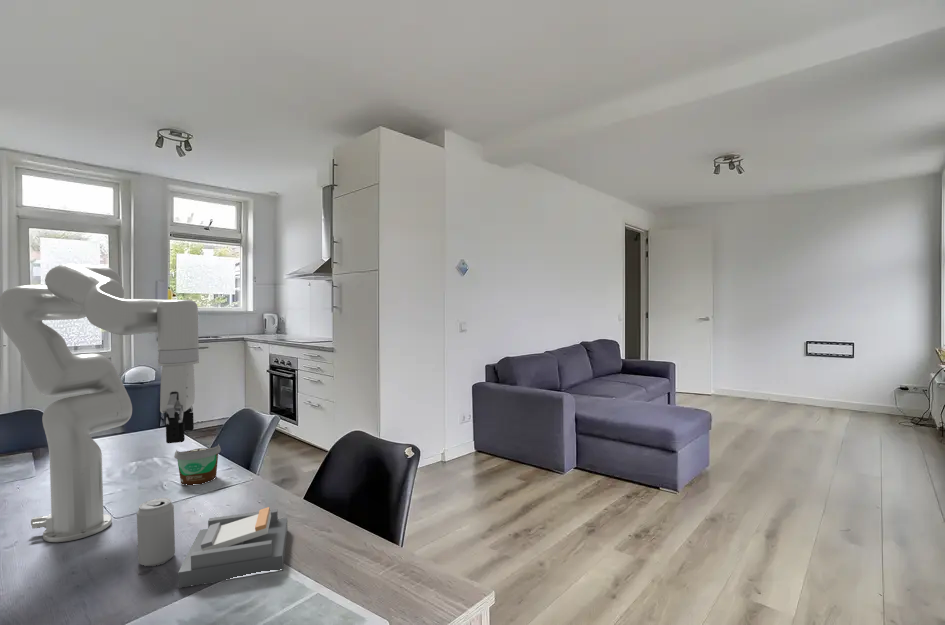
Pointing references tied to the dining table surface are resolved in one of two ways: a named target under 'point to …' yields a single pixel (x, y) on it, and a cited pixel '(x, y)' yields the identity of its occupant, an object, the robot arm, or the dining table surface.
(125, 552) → the dining table surface
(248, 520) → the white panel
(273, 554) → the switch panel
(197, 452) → the food container
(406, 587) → the dining table surface
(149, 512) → the beverage can
